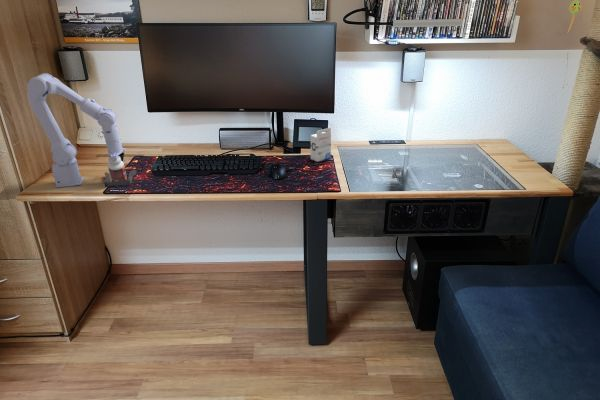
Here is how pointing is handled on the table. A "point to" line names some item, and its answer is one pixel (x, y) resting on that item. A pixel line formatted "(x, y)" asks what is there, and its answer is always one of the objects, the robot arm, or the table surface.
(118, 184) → the mount cradle
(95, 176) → the table surface
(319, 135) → the ink box
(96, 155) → the table surface
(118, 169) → the pill bottle
